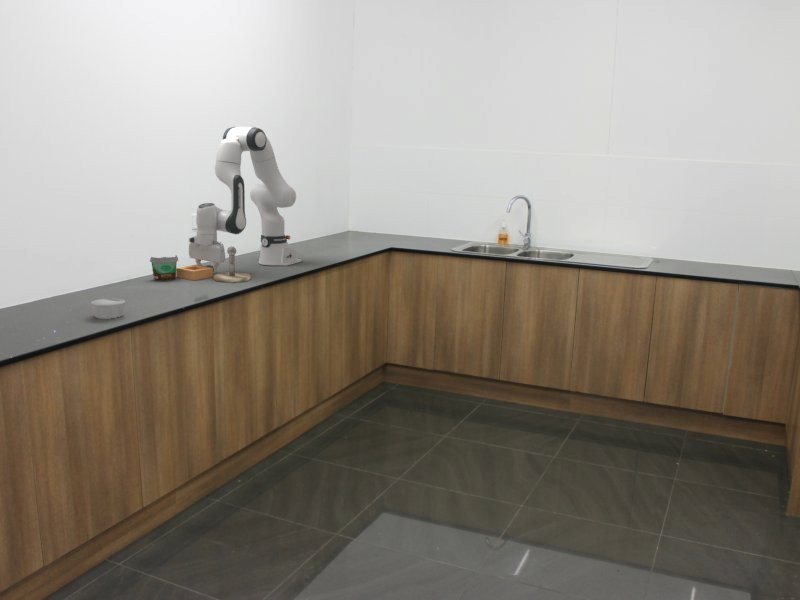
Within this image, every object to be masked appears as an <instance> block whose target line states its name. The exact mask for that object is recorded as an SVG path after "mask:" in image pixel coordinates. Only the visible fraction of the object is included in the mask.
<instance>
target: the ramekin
mask: <svg viewBox="0 0 800 600" xmlns="http://www.w3.org/2000/svg"><path fill="white" fill-rule="evenodd" d="M90 306H91V308H92V314H93V316H94V317H95V318H96V319H99V320H100V319H101V320H112V319H111V318H114V319H118V318H117V317H119V318H121V317H123V316H124V311H125V306H126V301H125V299H119V298H99V299H96V300H92V301H91V302H90ZM120 316H121V317H120Z"/></svg>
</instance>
